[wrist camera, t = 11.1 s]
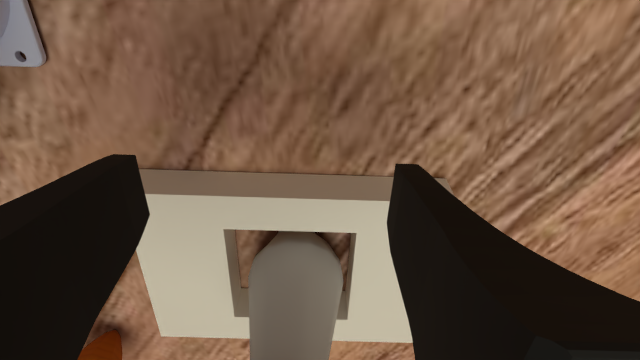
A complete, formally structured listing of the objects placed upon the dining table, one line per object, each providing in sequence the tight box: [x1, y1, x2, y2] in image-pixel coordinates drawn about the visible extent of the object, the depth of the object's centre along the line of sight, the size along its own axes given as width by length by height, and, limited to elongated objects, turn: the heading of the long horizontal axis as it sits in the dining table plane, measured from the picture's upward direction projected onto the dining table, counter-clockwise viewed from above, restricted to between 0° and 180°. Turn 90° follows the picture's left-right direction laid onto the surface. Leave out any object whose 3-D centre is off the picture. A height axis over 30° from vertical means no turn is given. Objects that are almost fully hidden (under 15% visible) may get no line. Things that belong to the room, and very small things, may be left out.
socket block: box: [136, 169, 454, 343], centre depth 25 cm, size 18×12×2 cm, turn 88°
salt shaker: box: [248, 231, 344, 360], centre depth 21 cm, size 6×6×13 cm
